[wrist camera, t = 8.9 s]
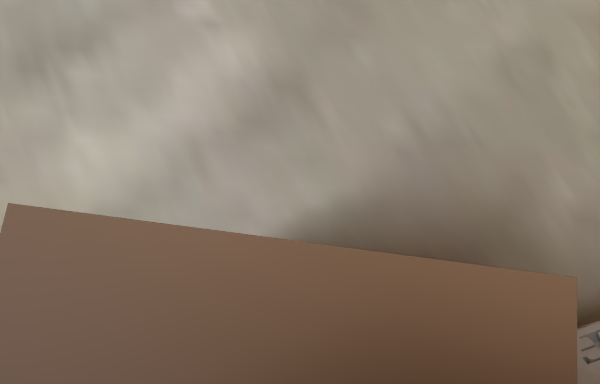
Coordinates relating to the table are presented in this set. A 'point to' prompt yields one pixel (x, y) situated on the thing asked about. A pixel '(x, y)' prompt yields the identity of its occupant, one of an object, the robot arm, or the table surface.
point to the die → (588, 353)
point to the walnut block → (263, 310)
